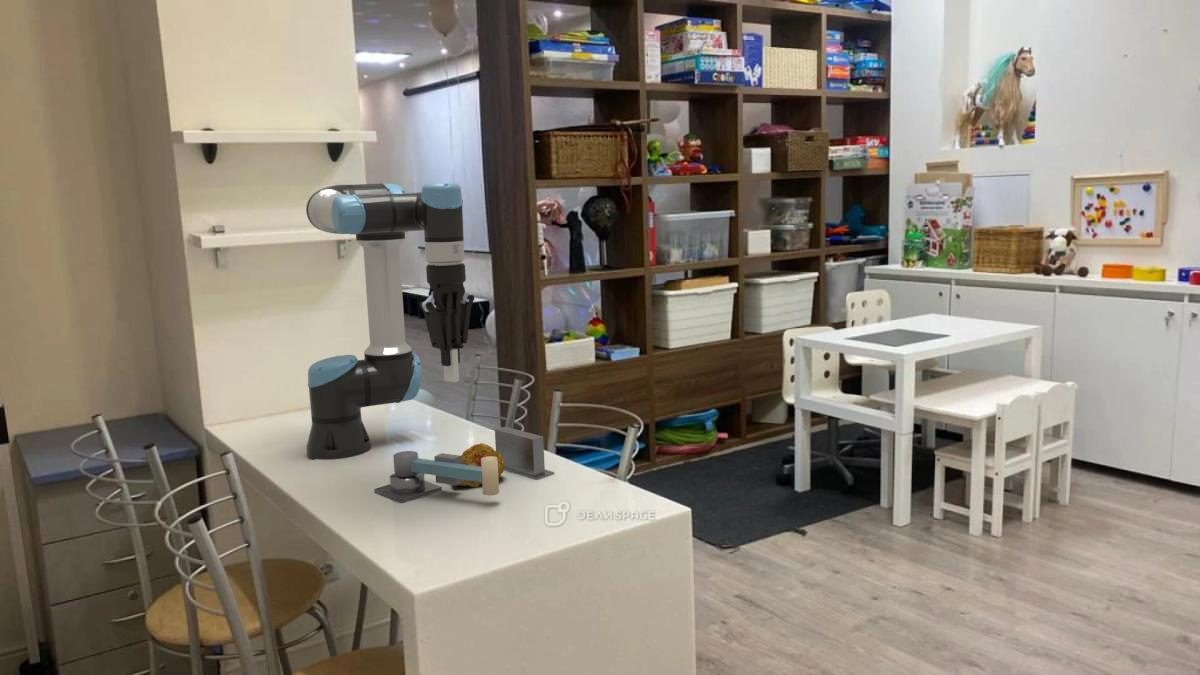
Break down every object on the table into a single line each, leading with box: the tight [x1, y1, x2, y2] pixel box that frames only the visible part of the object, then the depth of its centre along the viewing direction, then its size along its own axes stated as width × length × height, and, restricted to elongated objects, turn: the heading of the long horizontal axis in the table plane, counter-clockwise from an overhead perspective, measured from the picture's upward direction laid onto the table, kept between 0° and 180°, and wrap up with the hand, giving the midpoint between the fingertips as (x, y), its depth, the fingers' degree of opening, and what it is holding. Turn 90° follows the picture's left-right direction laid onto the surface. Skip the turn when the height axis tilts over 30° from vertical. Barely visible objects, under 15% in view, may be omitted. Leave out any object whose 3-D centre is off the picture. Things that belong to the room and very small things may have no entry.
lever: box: [392, 450, 500, 496], centre depth 180 cm, size 25×6×7 cm, turn 63°
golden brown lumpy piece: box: [452, 442, 505, 488], centre depth 189 cm, size 11×8×10 cm
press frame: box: [373, 426, 555, 504], centre depth 188 cm, size 21×32×9 cm, turn 135°
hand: (451, 380), depth 177 cm, fingers closed
